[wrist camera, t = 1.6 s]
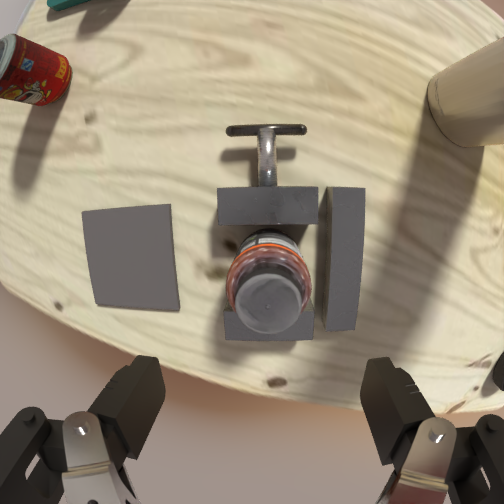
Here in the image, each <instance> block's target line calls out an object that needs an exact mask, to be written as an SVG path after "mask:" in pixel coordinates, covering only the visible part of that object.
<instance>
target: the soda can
mask: <svg viewBox="0 0 504 504" xmlns="http://www.w3.org/2000/svg"><path fill="white" fill-rule="evenodd" d="M72 74H73V72H72V68H71V66H70V65H69V62H68V60H67V58H66V57H64V56H63V55H61V54H59V53H56V52H54V51H52V50H50V49H48V48H46V47H44V46H41V45H39V44H37V43H34V42H32V41H30V40H27V39H25V38H23V37H21V36H18V35H16V34H8V35H6V36H5V37H3V38H2V39H1V40H0V98H3V99H8V100H13V101H18V102H23V103H28V104H33V105H37V106H43V105H46V104H48V103H53V102H56V101H57V100H59V99H60V98H61V97H62V96H63V95H64V94H65V92H66V91H67V89H68V87H69V85H70V83H71V80H72Z"/></svg>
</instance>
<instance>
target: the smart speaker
mask: <svg viewBox="0 0 504 504" xmlns="http://www.w3.org/2000/svg"><path fill="white" fill-rule="evenodd" d="M493 380H494V383H495V384H496V385H497V386H498V387H499V388H500V390H502V391H504V353H503V354H502V356H501V357H500V359H499V361H498V363H497V365H496V367H495V370H494V373H493Z"/></svg>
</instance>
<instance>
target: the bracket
mask: <svg viewBox="0 0 504 504" xmlns="http://www.w3.org/2000/svg"><path fill="white" fill-rule="evenodd" d="M87 1H91V0H47V5H48V6H49V7H51V8H52V9H54V10H55V11H60V10H63V9H66V8H69V7H72V6H75V5H78V4H81V3H84V2H87Z"/></svg>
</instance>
